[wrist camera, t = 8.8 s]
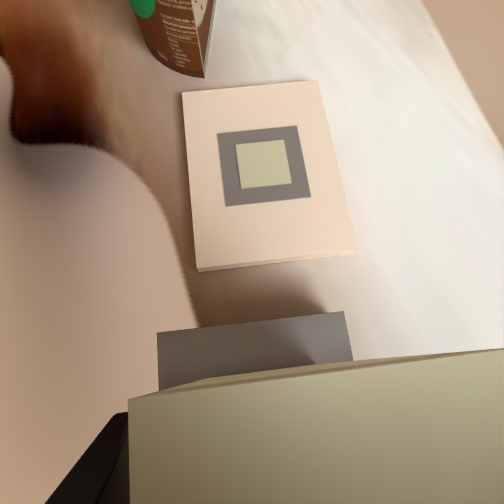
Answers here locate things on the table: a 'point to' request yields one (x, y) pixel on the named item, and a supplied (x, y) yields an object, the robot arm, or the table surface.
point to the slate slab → (251, 347)
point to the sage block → (327, 434)
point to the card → (263, 176)
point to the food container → (177, 32)
